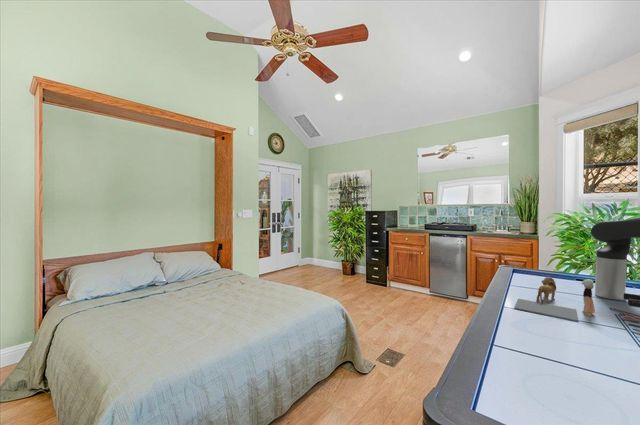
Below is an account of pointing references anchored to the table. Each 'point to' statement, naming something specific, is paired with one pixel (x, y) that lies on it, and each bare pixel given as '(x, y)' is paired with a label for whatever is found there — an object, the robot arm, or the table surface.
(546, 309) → the mat
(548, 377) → the table surface
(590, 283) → the grandmother figurine
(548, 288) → the lion figurine
